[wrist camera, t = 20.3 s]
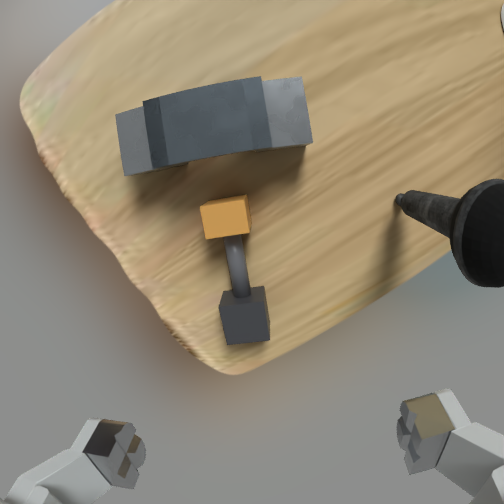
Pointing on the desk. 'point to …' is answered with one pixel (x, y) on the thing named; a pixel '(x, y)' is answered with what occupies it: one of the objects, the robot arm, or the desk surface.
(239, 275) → the plug
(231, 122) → the block
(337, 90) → the desk surface
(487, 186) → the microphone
